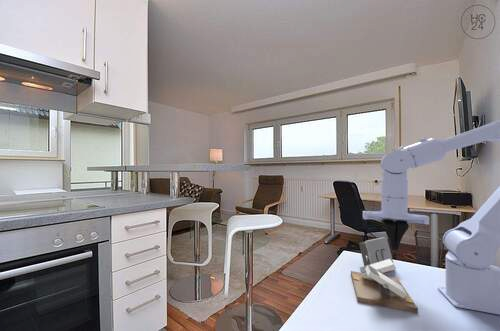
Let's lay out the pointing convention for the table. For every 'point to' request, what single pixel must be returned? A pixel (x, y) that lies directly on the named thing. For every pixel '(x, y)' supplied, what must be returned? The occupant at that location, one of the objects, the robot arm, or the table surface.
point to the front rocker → (385, 281)
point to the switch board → (374, 296)
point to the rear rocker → (379, 267)
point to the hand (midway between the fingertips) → (393, 248)
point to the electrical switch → (375, 251)
